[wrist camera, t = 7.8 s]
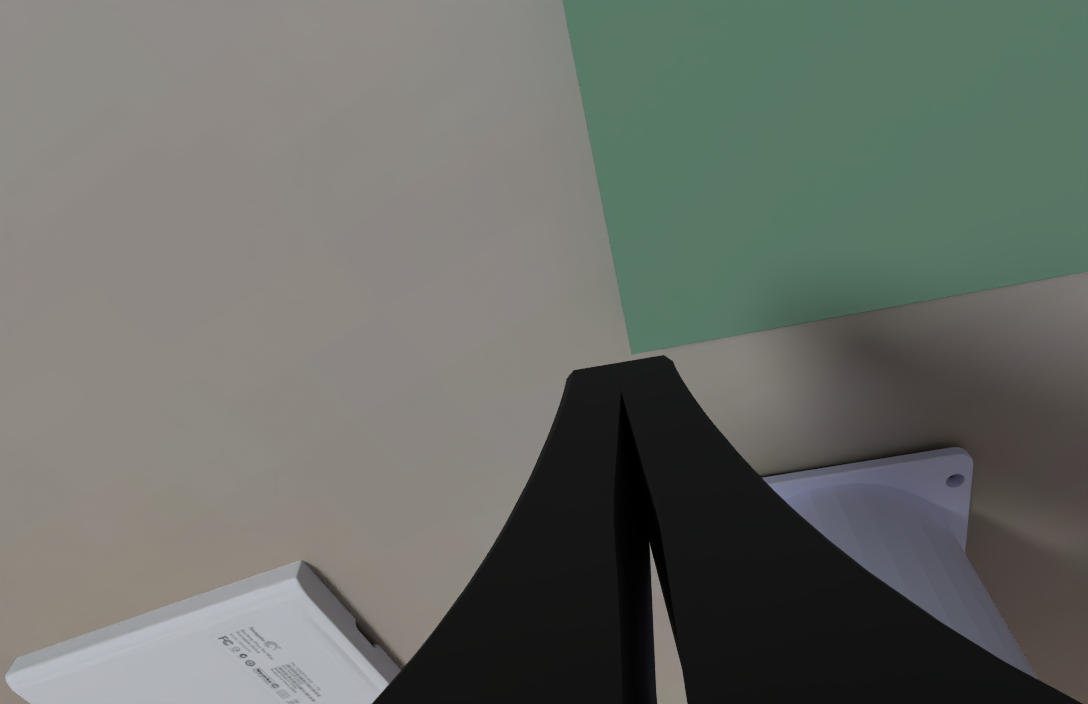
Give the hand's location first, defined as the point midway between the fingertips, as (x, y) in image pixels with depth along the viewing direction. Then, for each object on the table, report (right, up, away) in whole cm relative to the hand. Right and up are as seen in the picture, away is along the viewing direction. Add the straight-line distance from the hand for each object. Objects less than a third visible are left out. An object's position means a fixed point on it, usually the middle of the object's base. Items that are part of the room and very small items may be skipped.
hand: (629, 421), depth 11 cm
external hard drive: (-13, -11, +19) cm, 26 cm away
